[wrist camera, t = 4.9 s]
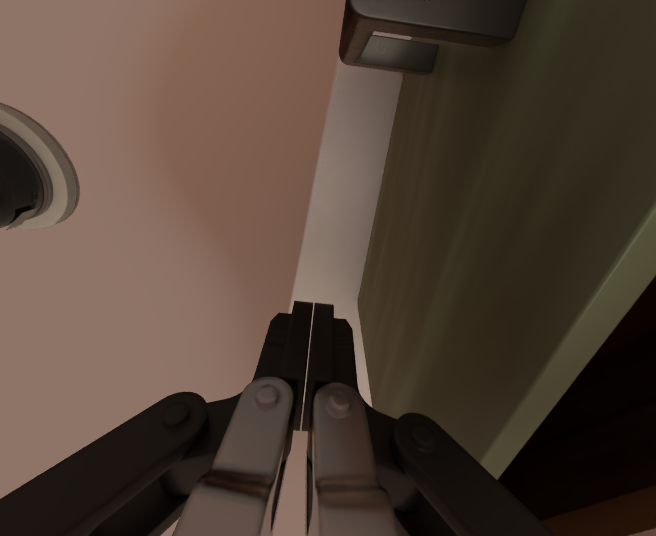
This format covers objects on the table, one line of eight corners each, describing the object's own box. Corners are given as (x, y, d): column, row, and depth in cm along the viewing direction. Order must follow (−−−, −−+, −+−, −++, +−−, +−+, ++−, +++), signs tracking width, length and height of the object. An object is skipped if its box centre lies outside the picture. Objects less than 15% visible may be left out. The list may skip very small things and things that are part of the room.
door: (312, 299, 35) (284, 578, 14) (340, 29, 23) (496, -1222, 1) (365, 304, 35) (416, 585, 14) (422, 40, 23) (1532, -840, 2)
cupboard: (364, 306, 36) (416, 592, 14) (576, 153, 27) (1515, 304, 6) (442, 378, 42) (559, 652, 21) (635, 272, 33) (1189, 560, 12)
